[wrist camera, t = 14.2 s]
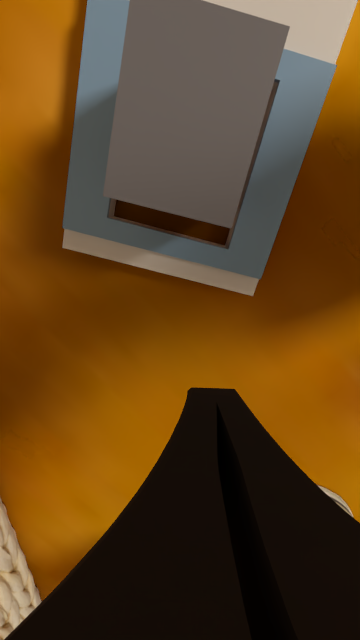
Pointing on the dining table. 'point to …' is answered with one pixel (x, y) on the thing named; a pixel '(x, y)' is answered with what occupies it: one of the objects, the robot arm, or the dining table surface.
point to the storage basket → (14, 580)
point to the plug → (190, 106)
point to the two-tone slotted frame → (265, 168)
